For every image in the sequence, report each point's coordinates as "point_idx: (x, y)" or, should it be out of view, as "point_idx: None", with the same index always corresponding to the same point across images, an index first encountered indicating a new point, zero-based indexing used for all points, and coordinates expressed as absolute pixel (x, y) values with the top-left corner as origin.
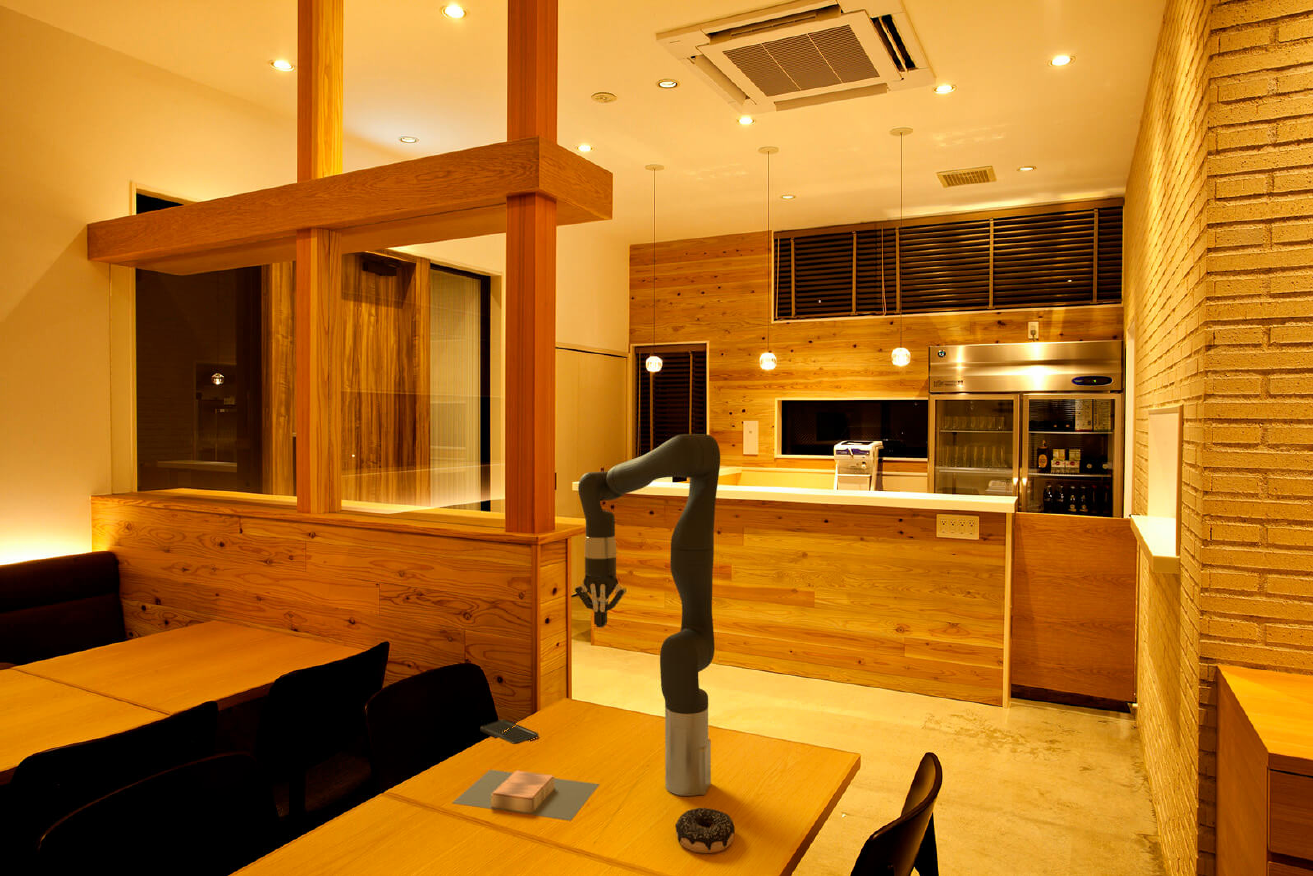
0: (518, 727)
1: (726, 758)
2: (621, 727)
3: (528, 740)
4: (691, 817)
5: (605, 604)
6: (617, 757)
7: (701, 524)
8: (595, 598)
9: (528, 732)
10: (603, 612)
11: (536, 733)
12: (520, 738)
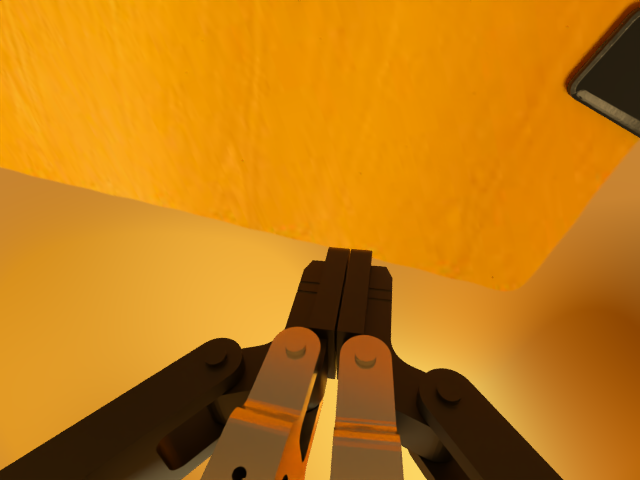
0: (637, 125)
1: (117, 88)
2: (368, 188)
3: (597, 52)
4: None
5: (253, 398)
6: (324, 19)
7: None
8: (345, 477)
9: (602, 98)
10: (298, 333)
11: (576, 96)
12: (626, 49)
